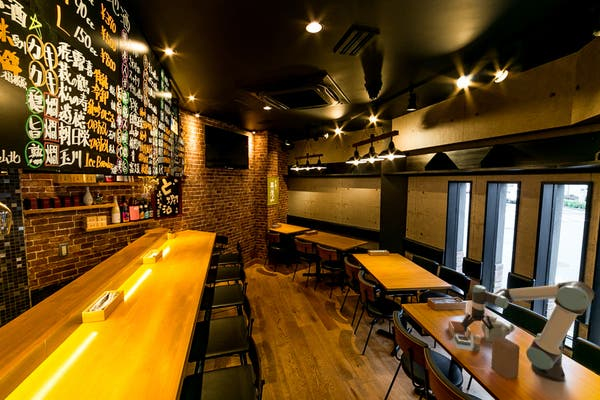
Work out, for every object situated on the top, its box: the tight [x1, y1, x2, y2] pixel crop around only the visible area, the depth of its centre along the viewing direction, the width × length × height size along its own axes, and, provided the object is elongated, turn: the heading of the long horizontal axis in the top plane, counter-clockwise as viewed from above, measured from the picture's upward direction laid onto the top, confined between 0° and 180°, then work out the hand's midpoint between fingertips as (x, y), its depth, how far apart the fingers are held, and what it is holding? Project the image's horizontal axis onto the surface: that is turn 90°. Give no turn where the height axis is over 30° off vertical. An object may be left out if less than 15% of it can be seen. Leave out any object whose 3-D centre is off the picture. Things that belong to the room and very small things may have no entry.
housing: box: [447, 320, 472, 340], centre depth 198 cm, size 12×12×7 cm
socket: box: [455, 334, 471, 345], centre depth 190 cm, size 8×8×2 cm
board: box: [446, 327, 483, 353], centre depth 192 cm, size 27×16×1 cm, turn 163°
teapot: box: [481, 315, 516, 343], centre depth 190 cm, size 16×15×19 cm
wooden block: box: [490, 337, 521, 380], centre depth 158 cm, size 10×10×20 cm
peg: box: [473, 333, 482, 352], centre depth 180 cm, size 4×4×10 cm
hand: (476, 336), depth 180 cm, fingers open, 13 cm apart
